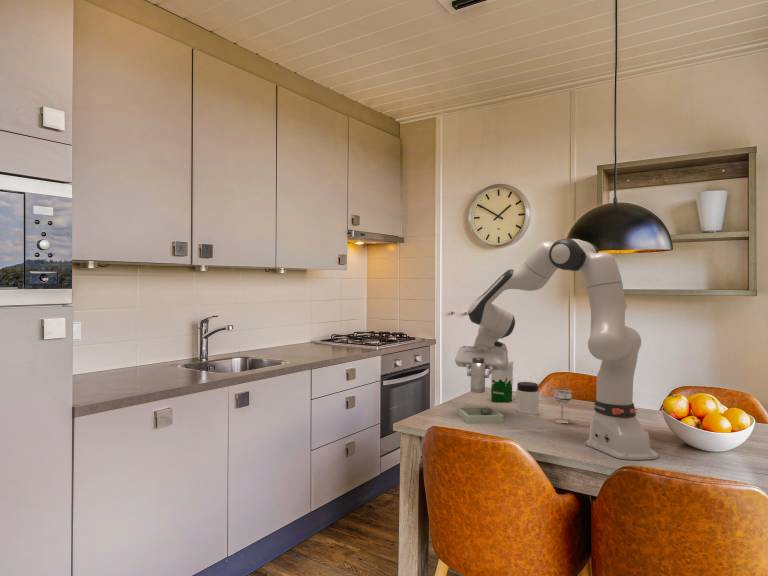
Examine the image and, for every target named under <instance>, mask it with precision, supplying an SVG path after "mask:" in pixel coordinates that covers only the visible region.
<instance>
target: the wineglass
mask: <svg viewBox="0 0 768 576" xmlns="http://www.w3.org/2000/svg"><path fill="white" fill-rule="evenodd" d="M572 393H573V392H572V390H571V389H564V388H554V389H553V395H552V397H553V399H554V401H555V403H558V404H559V405H560V407H561V409H560V411H561V412H560V414H561V415H560V416H561V417H560V418H561V419H558V420H557V419H556V420H554V422H555V423H557V424H561V423H567V424H569V423H568V422H569V421H567V420H565V419H563V417H564V406H565V405H566V404H568V403H570V402H571V400H572V398H573V397H572Z"/></svg>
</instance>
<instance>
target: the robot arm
mask: <svg viewBox="0 0 768 576" xmlns="http://www.w3.org/2000/svg"><path fill="white" fill-rule="evenodd" d="M558 269H560V270H564V271H571V272H581V273H582V274H583V276H584V279H585V285H586V290H587V295H588V301H589V308H590V335H589V338H588V340H587V349H588V350H589V353H590V354H591V356H593V358H595V359H596V360H599V361H601V362H600V363H601V364H600V366H599V370H598V373H597V375H596V385H595V386H596V389H595V391H596V392H595V393H596V394H595V396H596V397H595V399H594V403H593V405H594V408H593V409H594V415H593V417H592V418H591V421H590V427H589V436H588V439H587V440H586V441H585V445H587V446H589V447H591V448H593V449H596V450H597V451H600V452H602V453H605V454H606V455H609V456H611V457H614V458H616V459H619V460H631V461H637V460H638V461H639V460H641V461H643V460H645V461H646V460H654V459H658V458H659V457H660V456H659V453H658V452H657V451H655V450H654V449H652V448H651V443H650V433H649V431H647V430H645V428H644V427H643V425H642V424H641V423H640V421H639V420H638V418H637V413H638V408H637V409H636V407H635V403H634V402H633V401H634V400H633V398H634V393H633V392H634V376H635V372H636V371H635V370H636V367H637V363H638V358H639V357H638V356H639V352H640V348H641V346H642V339H641V338H642V337H641V335H640V333H639V332H638V331H637V330H635V329H634V328H632V327H630V326H627V325H626V310H627V307H628V306H627V300H626V295H625V289H624V285H623V279H622V276H621V273H620V269H619V266H618V263H617V261H616V259H615V257H614V255H612V254H610V253H609V252H603V251H602V252H600V250H599V249H598V248H597V246H596V245H595V244H593V243H592V242H590V241H585V240H581V239H578V238H561V239H558V240H556V241H555V242H552V241H548V240H547V241H542V242H540V244H538V245H537V246H536V247H535V248H534V249H533V251H532V252H531V253H530V254H529V255H528V256H527V258H526V259H525V260H524V262H523V263H522V264H520V265H519V266H518V267H516V268H514V269H508V270H506V271H505V272H504V273H502V275H500V277H498V278H497V279H496V280H495V281H494V283H492V284H491V286H490V287H488V289H486V290H485V292H484V293H482V294H481V295H480V296H479V297H477V299H475V300H474V301H473V302H472V304H471V305H470V307H469V309H468V311H467V315H468V317H469V320H470V322H471V323H473V324H475V325H478V329H477V336H476V337H475V340H474V344H473V346H471V345H470V346H468V345H463V346H460V347H458V350H457V354H456V356H455V358H454V359H455V364H456V366H457V367H460V368H466V370H467V372H466V377H471V362H472V358H484V362H485V370H487V371H485V374H484V377H485V379H490V375H491V373H492V372H493V371H494V370H501V371H505V370H507V368H508V361H509V354H508V352H509V351H508V348H507V345H506V344H505V343H504V342H501V341H499V339H504V338H507V337H509V336H510V335H511V334H512V333H513V331H514V328H515V325H516V319H515V315H514V314H512V313H511V312H509V311H507V310H505V309H503V308H501V307H499V306H497V305H495V304H493V302H494V301H495V300H497V298H498V297H499V296H500V295H501V294H502V293H503V292H504V291H506V290H507V291H508V290H519V291H520V290H521V291H526V292H534V291H538V290H540V289H542V288H544V286H545V285H547V283H548V282H549V281H550V279H551V278H552V277H553V276H554V274H555V272H556V271H557V270H558Z"/></svg>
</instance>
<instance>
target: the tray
mask: <svg viewBox="0 0 768 576" xmlns="http://www.w3.org/2000/svg"><path fill="white" fill-rule="evenodd" d="M484 407H486V408H488V410H489V413H488V414H487V415H483V414H482V413H481V409H482V408H484ZM456 415H458V417H460V418H461V419H462V420H463V421H464V422H465V423H466V424H496V423H498V424H499V423H504V420H505V419H504V415H503V414H502V413H500V412H499V411H498V410H497V409H495V408H494V407H492V406H463V407H462V406H461V407H460V406H458V407H456Z"/></svg>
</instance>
